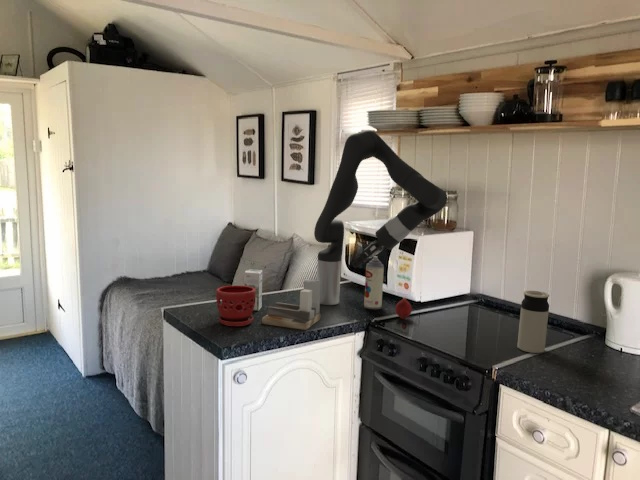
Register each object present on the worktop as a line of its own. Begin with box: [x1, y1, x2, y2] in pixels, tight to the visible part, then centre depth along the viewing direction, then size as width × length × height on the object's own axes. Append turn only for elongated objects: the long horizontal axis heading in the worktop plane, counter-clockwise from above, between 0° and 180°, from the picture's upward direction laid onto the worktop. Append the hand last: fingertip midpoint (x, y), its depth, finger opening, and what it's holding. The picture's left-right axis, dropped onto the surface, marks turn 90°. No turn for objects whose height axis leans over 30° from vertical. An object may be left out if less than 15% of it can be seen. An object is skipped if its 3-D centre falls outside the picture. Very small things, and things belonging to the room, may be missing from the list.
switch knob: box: [299, 288, 315, 319], centre depth 185 cm, size 4×5×9 cm
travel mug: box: [516, 290, 550, 354], centre depth 167 cm, size 8×8×18 cm
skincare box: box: [303, 278, 321, 314], centre depth 199 cm, size 6×4×12 cm
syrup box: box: [243, 269, 263, 312], centre depth 200 cm, size 6×6×14 cm
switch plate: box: [261, 301, 321, 331], centre depth 187 cm, size 14×16×5 cm
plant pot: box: [215, 285, 256, 327], centre depth 182 cm, size 13×13×12 cm
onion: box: [394, 297, 413, 320], centre depth 195 cm, size 6×6×8 cm
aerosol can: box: [363, 255, 385, 310], centre depth 209 cm, size 7×7×20 cm
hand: (357, 263), depth 177 cm, fingers open, 8 cm apart
